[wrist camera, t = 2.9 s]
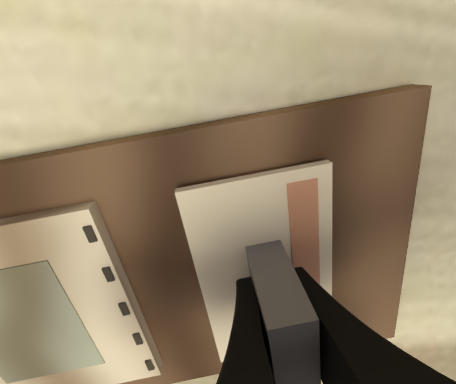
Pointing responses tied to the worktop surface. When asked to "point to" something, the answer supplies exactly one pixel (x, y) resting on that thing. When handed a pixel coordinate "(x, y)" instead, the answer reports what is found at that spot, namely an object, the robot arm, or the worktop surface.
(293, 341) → the stub
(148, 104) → the worktop surface
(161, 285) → the ticket board
